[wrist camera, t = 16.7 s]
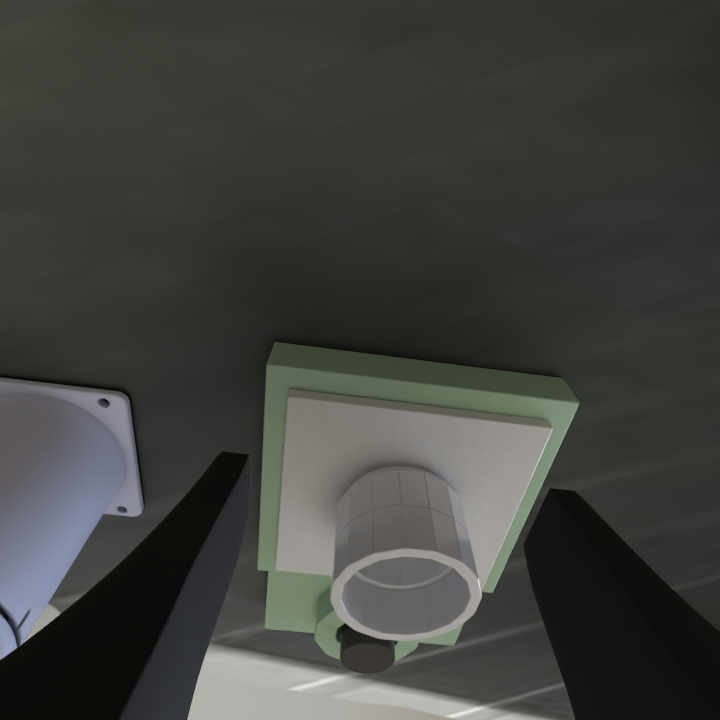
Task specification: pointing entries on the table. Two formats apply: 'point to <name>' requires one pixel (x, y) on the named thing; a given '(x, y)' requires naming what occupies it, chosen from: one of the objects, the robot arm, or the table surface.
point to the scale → (400, 446)
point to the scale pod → (320, 613)
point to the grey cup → (402, 556)
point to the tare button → (365, 651)
